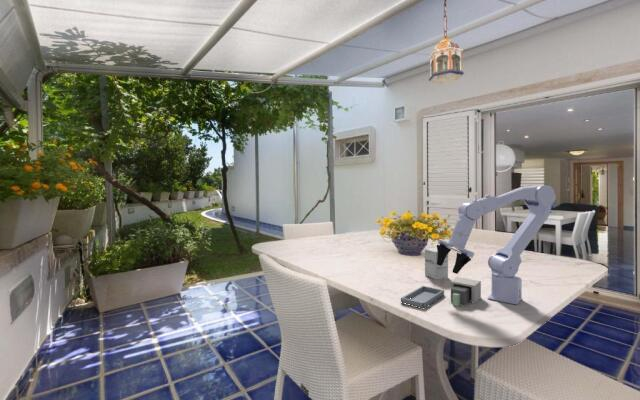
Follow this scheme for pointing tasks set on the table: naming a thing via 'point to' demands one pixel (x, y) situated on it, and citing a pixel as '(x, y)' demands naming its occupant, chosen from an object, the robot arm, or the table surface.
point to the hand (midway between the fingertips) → (446, 269)
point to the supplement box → (435, 265)
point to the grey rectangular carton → (461, 295)
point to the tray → (422, 296)
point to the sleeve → (470, 283)
